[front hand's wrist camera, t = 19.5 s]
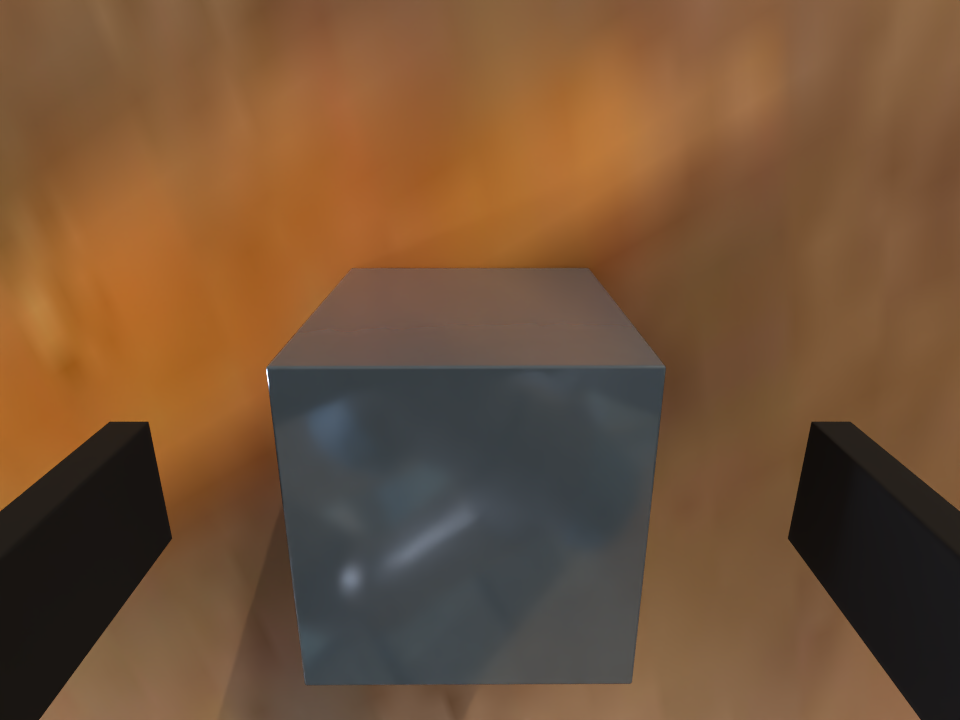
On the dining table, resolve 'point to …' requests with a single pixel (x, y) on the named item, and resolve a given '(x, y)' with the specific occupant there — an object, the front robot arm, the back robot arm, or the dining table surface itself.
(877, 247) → the dining table surface
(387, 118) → the dining table surface
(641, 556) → the cube
